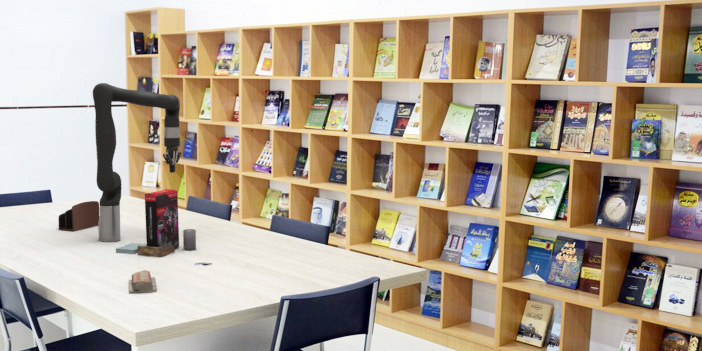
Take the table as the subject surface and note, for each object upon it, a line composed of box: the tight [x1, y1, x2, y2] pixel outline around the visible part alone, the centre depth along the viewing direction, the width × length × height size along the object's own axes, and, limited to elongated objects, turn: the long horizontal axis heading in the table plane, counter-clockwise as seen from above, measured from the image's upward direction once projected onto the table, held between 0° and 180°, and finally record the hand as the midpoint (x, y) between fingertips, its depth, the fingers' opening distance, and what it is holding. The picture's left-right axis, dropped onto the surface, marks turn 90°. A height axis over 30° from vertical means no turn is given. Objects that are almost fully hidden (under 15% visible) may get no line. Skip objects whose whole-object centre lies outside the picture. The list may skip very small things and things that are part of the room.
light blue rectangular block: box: [115, 242, 147, 255], centre depth 347 cm, size 9×13×2 cm
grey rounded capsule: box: [182, 228, 197, 252], centre depth 351 cm, size 6×6×9 cm
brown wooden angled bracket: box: [137, 245, 175, 258], centre depth 341 cm, size 12×11×4 cm
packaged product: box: [128, 269, 158, 294], centre depth 286 cm, size 18×5×10 cm
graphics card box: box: [144, 188, 180, 249], centre depth 346 cm, size 17×7×27 cm, turn 159°
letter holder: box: [58, 200, 100, 233], centre depth 397 cm, size 10×20×14 cm, turn 158°
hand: (172, 172), depth 368 cm, fingers closed
